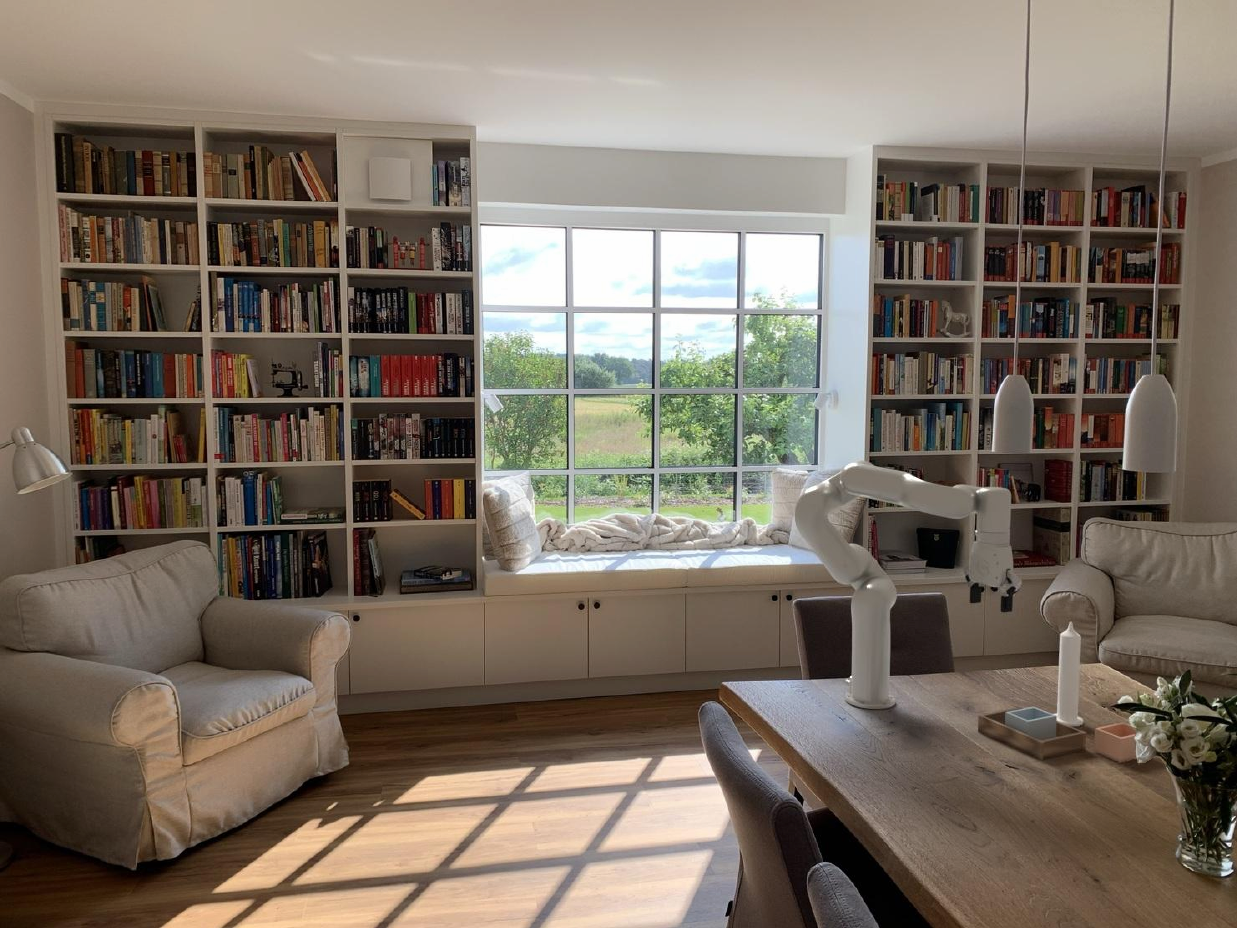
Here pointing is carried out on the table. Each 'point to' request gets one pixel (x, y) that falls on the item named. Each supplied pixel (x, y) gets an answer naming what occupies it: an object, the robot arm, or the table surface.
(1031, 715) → the bluegrey crate
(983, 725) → the walnut crate
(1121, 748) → the terracotta crate
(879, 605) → the robot arm
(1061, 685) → the candle
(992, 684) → the table surface
